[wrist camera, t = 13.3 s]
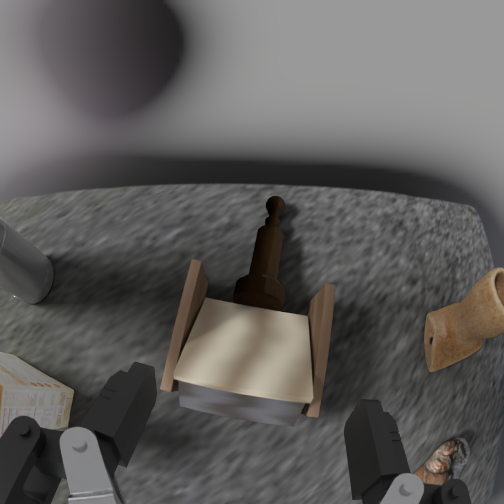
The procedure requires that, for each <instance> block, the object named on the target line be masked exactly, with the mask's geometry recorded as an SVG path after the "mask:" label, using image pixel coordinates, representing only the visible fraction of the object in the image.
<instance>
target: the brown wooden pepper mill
mask: <svg viewBox="0 0 504 504" xmlns="http://www.w3.org/2000/svg"><path fill="white" fill-rule="evenodd" d="M266 209H267V211H268V213H269V217H267V218H266V220H265V226H262V227H260V228H259V229H258V232H257V237H256V242H255V247H254V252H253V257H252V261H251V266H250V271H249V274H248V275H246V276H244V277H242V278H240V279H238V281H237V282H236V286H235V290H234V294H233V299H234V301H235V302H236V303H237V304H241V305H246V306H251V307H257V308H262V309H268V310H274V311H278V310H280V309H282V308H283V306H284V299H285V288H284V286H283V285H282V284H281V283H280V282H279V281H278V280H277V277H278V270H279V263H280V256H281V249H282V243H283V236H284V234H283V232H282V230H281V229H279V225H280V220H279V219H278V216H279V215H280V214H281V213H282V212H283V211H284V209H285V202H284V200H283V199H282V198H281V197H279V196H272V197H270V198H269V199H268V200H267V202H266Z"/></svg>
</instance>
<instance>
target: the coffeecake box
mask: <svg viewBox="0 0 504 504" xmlns="http://www.w3.org/2000/svg"><path fill="white" fill-rule="evenodd" d="M73 395H74V390H73V389H71V388H69V387H68V386H66V385H64V384H62V383H60V382H58V381H57V380H55V379H53V378H51V377H49V376H48V375H46V374H44V373H42V372H41V371H39V370H37V369H36V368H34V367H32V366H31V365H29V364H27V363H26V362H24V361H23V360H21V359H20V358H18V357H17V356H15V355H11V354H6V353H2V352H0V437H1V436H2V435H3V433H4V432H5V430H6V429H7V427H8V426H9V424H10V423H11V421H12V420H13V419H14V418H16V417H18V416H29V417H31V418H33V419H35V420H36V421H37V423H38V424H39V426H40V427H42V428H47V429H52V430H53V429H59V428H64V427H68V423H69V417H70V409H71V404H72V400H73Z"/></svg>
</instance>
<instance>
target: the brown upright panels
mask: <svg viewBox="0 0 504 504" xmlns="http://www.w3.org/2000/svg"><path fill="white" fill-rule="evenodd" d="M335 286H336V285H333V284H327V283H326V284H325V285H324V286H323V287H322V289H321V290H320V291H319V292H318V293H317V294H316V295H315V296H314V298H313V299H312V300H311V301H310V303H309V311H308V325H309V338H310V351H311V366H312V383H313V399H312V401H311V403H305V405H304V407H303V409H302V411H301V413H302V414H304V415H306V416H308V417H318V416H319V410H320V405H321V399H322V393H323V387H324V380H325V374H326V367H327V360H328V352H329V345H330V336H331V328H332V318H333V308H334V298H335ZM207 288H208V280H207V277H206V274H205V270H204V267H203V264H202V261H200V260H195V259H192V260H191V264H190V267H189V271H188V275H187V279H186V282H185V286H184V290H183V294H182V298H181V301H180V305H179V309H178V313H177V317H176V321H175V326H174V330H173V334H172V338H171V342H170V347H169V351H168V355H167V360H166V364H165V369H164V374H163V378H162V383H161V388H160V389H162V390H165V391H169V392H173V391H178V390H179V382H178V380H176V379H174V375H173V373H174V370H175V368H176V365H177V363H178V361H179V358H180V356H181V354H182V351H183V349H184V347H185V344H186V342H187V340H188V337H189V335H190V333H191V330H192V328H193V326H194V323H195V321H196V319H197V316H198V314H199V312H200V310H201V307H202V305H203V303H204V300H205V296H206V292H207Z"/></svg>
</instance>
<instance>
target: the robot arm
mask: <svg viewBox="0 0 504 504" xmlns="http://www.w3.org/2000/svg"><path fill="white" fill-rule="evenodd" d="M53 276H54V270H53V265H52V263H51V261H50V260H49V258H48V257H46V256H45V255H44V254H43V253H41V252H40V251H39V250H38V249H37V248H36V247H34V246H33V245H32V244H31V243H30V242H28V241H27V240H26V239H25V238H24V237H23V236H21V235H20V234H19V233H18V232H17V231H16V230H15V229H13V228H12V227H11V226H10V225H9V224H8V223H7V222H6V221H5V220H4V219H3V218H1V217H0V289H2V290H3V291H5V292H7V293H9V294H11V295H13V296H14V297H16V298H18V299H20V300H22V301H24V302H26V303H28V304H35V303H38V302H40V301H41V300H42V299H44V297H45V296H46V295H47V294H48V292H49V290H50V288H51V286H52V282H53ZM156 396H157V389H156V379H155V369H154V367H152V366H149V365H145V364H142V363H139V362H134V363H133V364H132V366H131V368H130V369H129V371H128V372H124V371H121V370H120V371H119V372H117V373H116V374H114V375H113V376H111V377H110V378H109V380H108V381H107V383H106V384H105V386H104V389H102V391H101V392H100V394H99V396H98V397H97V398H96V400H95V401H94V403H93V405H92V406H91V408H90V409H89V411H88V412H87V414H86V416H85V417H84V419H83V420H82V422H81V423H80V424H79V425H78V426H77V427H72V428H69V429H67V430H66V431H57V430H52V429H47V428H42V427H40V426H39V424H38V423H37V421H36V420H35V419H33V418H31V417H29V416H18V417H16V418H14V419H13V420H12V421H11V423H10V424H9V426H8V427H7V429H6V430H5V432H4V433H3V435H2V436H1V438H0V504H51V502H52V499H53V497H54V495H55V492H56V490H57V488H58V485H59V483H60V481H61V479H62V478H64V479H67V481H68V485H69V489H70V496H69V497H68V501H69V504H126V501H125V499H124V497H123V494H122V492H121V489H120V487H119V484H118V481H117V479H116V476H115V473H114V472H115V470H116V468H117V466H118V465H121V466H123V467H126V468H127V465H128V463H129V461H130V458H131V456H132V454H133V452H134V449H135V447H136V445H137V442H138V440H139V438H140V436H141V433H142V431H143V429H144V427H145V425H146V422H147V420H148V418H149V416H150V413H151V411H152V409H153V407H154V404H155V401H156ZM398 432H399V431H398V428H397V424H396V421H395V420H394V419H393V417H392V416H391V415H390V414H389V412H383V409H382V405H381V402H380V401H379V400H366V399H361V400H359V402H358V403H357V405H356V407H355V408H354V410H353V412H352V413H351V415H350V417H349V418H348V420H347V421H346V424H345V428H344V437H345V444H346V451H347V458H348V466H349V474H350V482H351V491H352V500H360V499H362V501H363V504H471V500H470V496H469V492H468V488H467V486H466V484H465V483H464V482H463V481H461V480H460V479H450V480H448V481H446V482H445V483H444V484H443V485H435V484H426V483H423V482H422V481H421V479H420V478H419V477H418V476H416V475H414V474H411V472H410V469H409V466H408V462H407V458H406V455H405V451H404V448H403V444H402V442H401V437H400V434H399V433H398Z"/></svg>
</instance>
